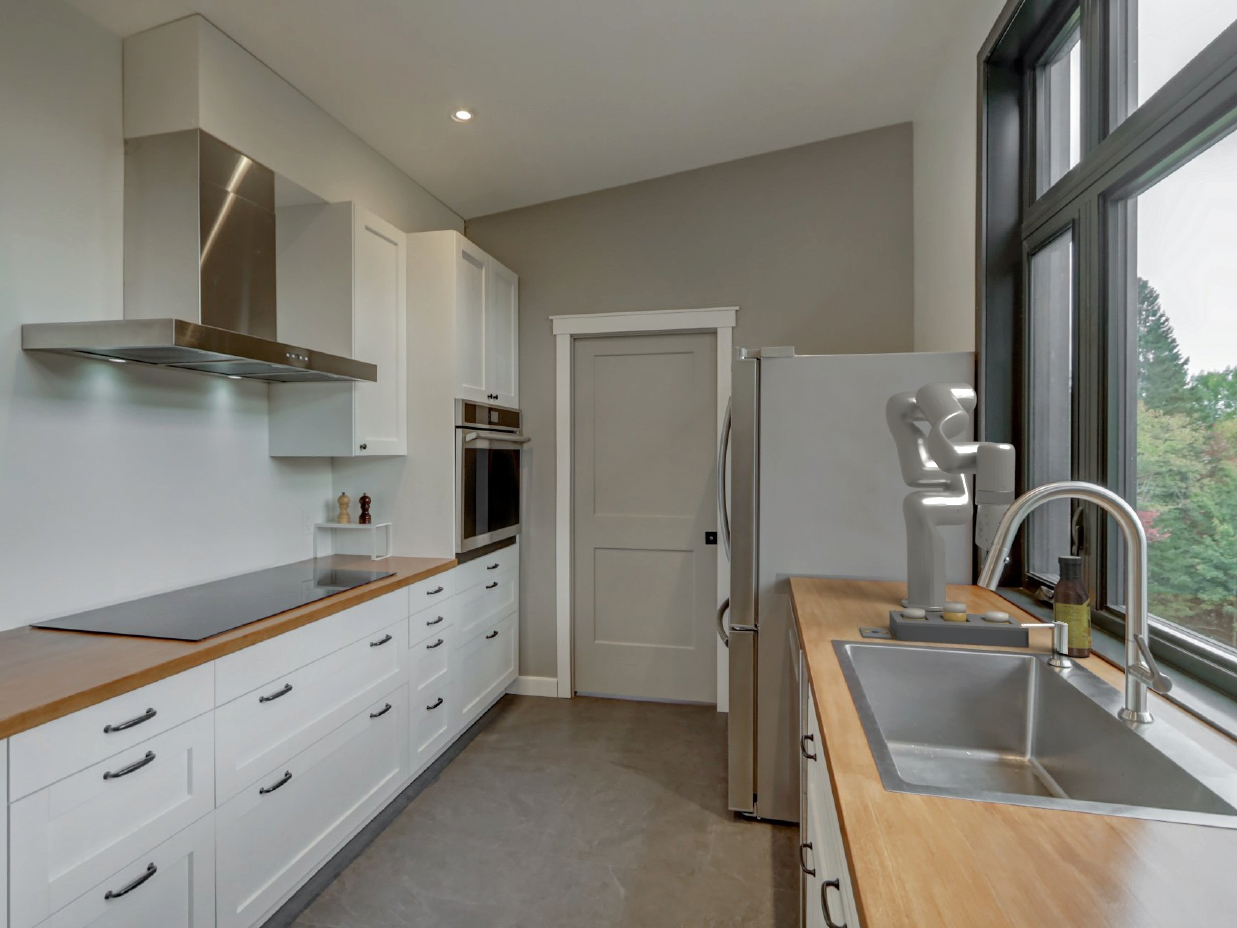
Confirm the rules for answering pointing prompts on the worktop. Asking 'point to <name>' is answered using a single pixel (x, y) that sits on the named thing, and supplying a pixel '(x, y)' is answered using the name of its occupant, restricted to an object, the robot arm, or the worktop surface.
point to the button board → (958, 630)
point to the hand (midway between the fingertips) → (993, 579)
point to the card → (875, 633)
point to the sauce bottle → (1073, 605)
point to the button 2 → (996, 617)
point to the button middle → (954, 611)
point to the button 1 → (914, 613)
